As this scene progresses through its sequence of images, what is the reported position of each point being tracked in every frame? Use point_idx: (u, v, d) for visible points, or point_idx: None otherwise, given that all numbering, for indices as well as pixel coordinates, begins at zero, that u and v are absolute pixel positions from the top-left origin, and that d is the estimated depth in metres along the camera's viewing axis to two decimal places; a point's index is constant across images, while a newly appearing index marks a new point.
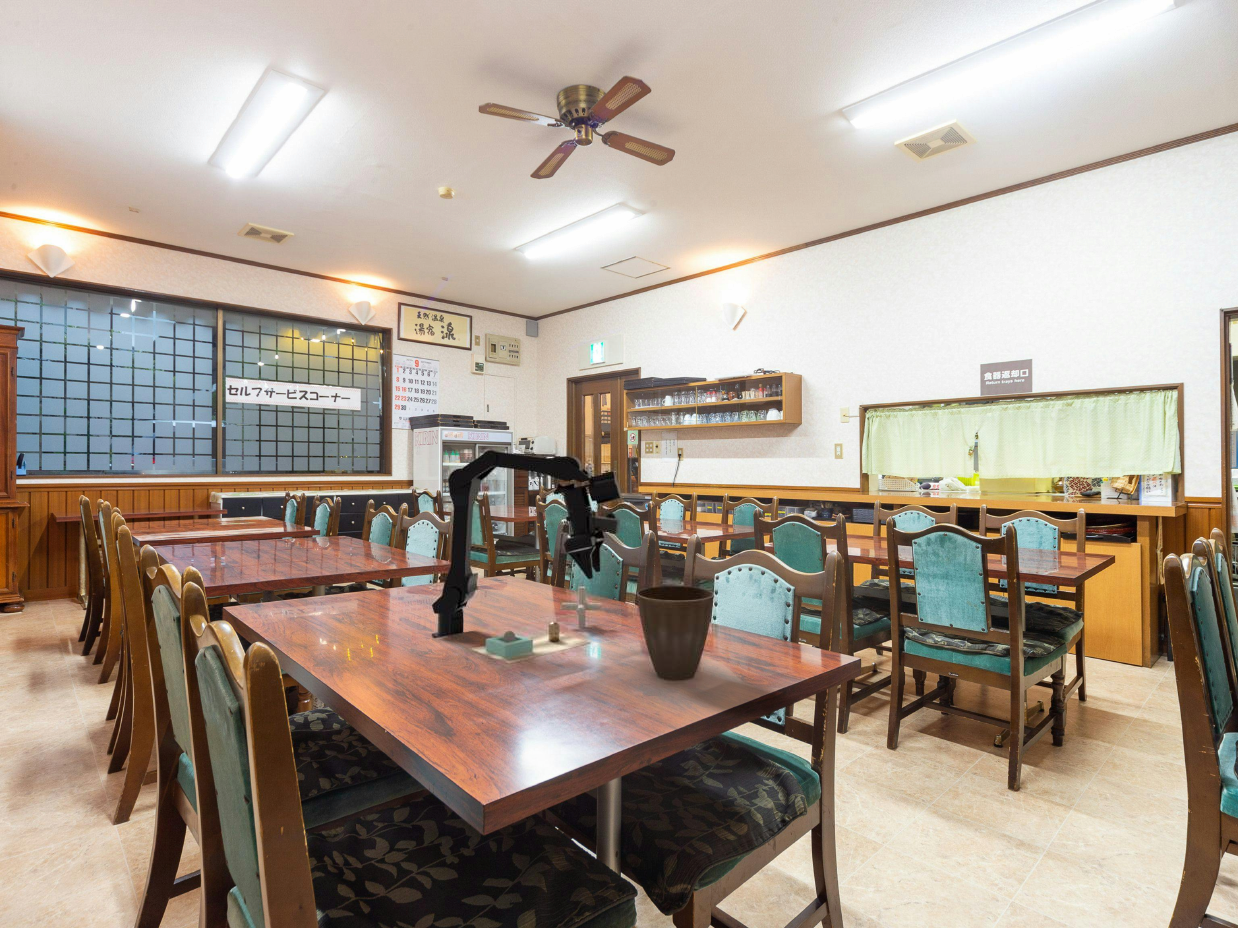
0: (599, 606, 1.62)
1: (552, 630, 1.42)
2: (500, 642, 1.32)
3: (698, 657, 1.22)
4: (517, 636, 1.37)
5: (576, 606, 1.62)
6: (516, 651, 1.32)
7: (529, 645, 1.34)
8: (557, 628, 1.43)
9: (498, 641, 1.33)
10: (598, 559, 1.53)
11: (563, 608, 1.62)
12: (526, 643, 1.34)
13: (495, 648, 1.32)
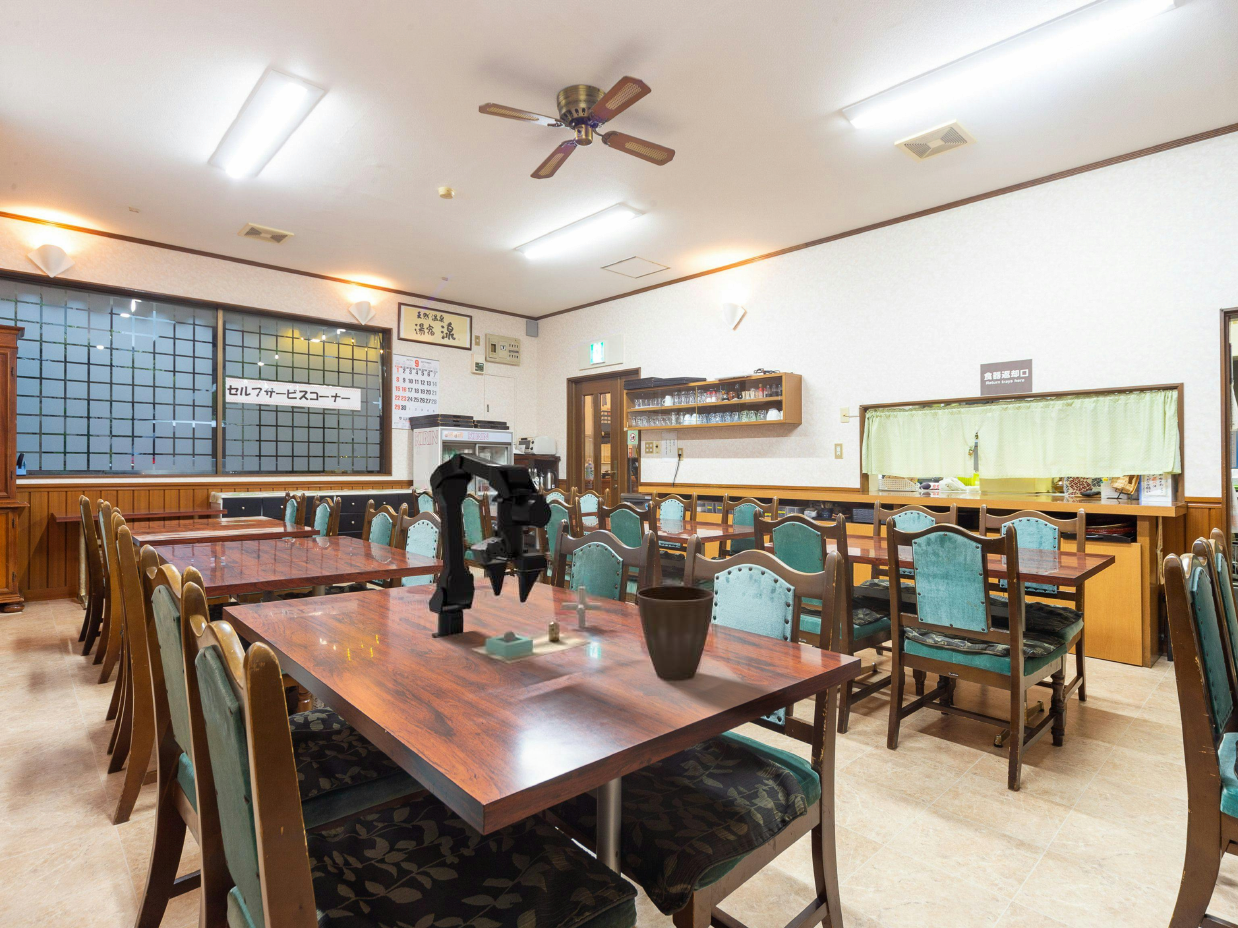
0: (599, 606, 1.62)
1: (552, 630, 1.42)
2: (500, 642, 1.32)
3: (698, 657, 1.22)
4: (517, 636, 1.37)
5: (576, 606, 1.62)
6: (516, 651, 1.32)
7: (529, 645, 1.34)
8: (557, 628, 1.43)
9: (498, 641, 1.33)
10: None
11: (563, 608, 1.62)
12: (526, 643, 1.34)
13: (495, 648, 1.32)
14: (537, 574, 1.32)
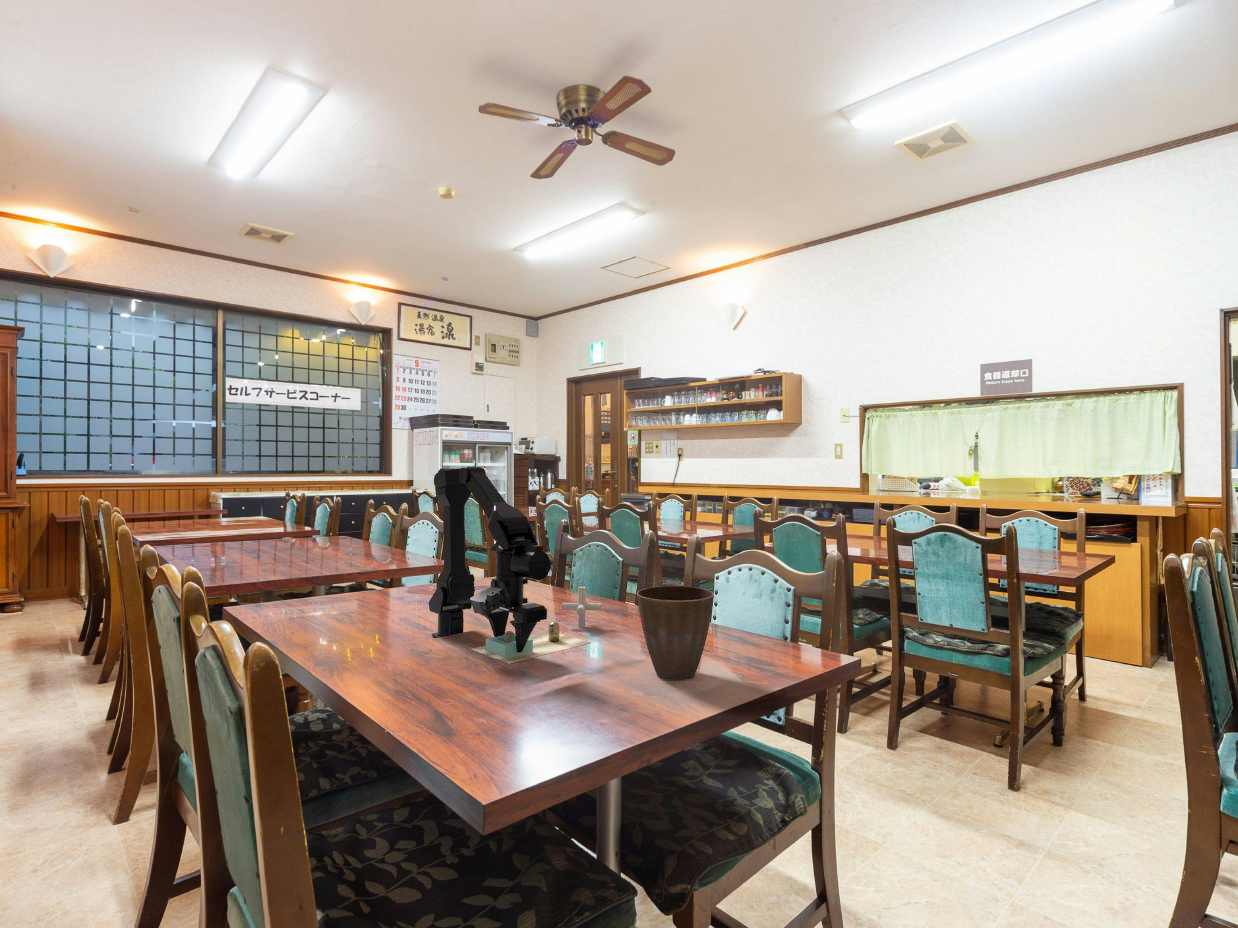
0: (599, 606, 1.62)
1: (552, 630, 1.42)
2: (500, 642, 1.32)
3: (698, 657, 1.22)
4: None
5: (576, 606, 1.62)
6: (516, 651, 1.32)
7: (529, 645, 1.34)
8: (557, 628, 1.43)
9: (498, 641, 1.33)
10: None
11: (563, 608, 1.62)
12: (526, 643, 1.34)
13: (495, 648, 1.32)
14: (534, 624, 1.33)
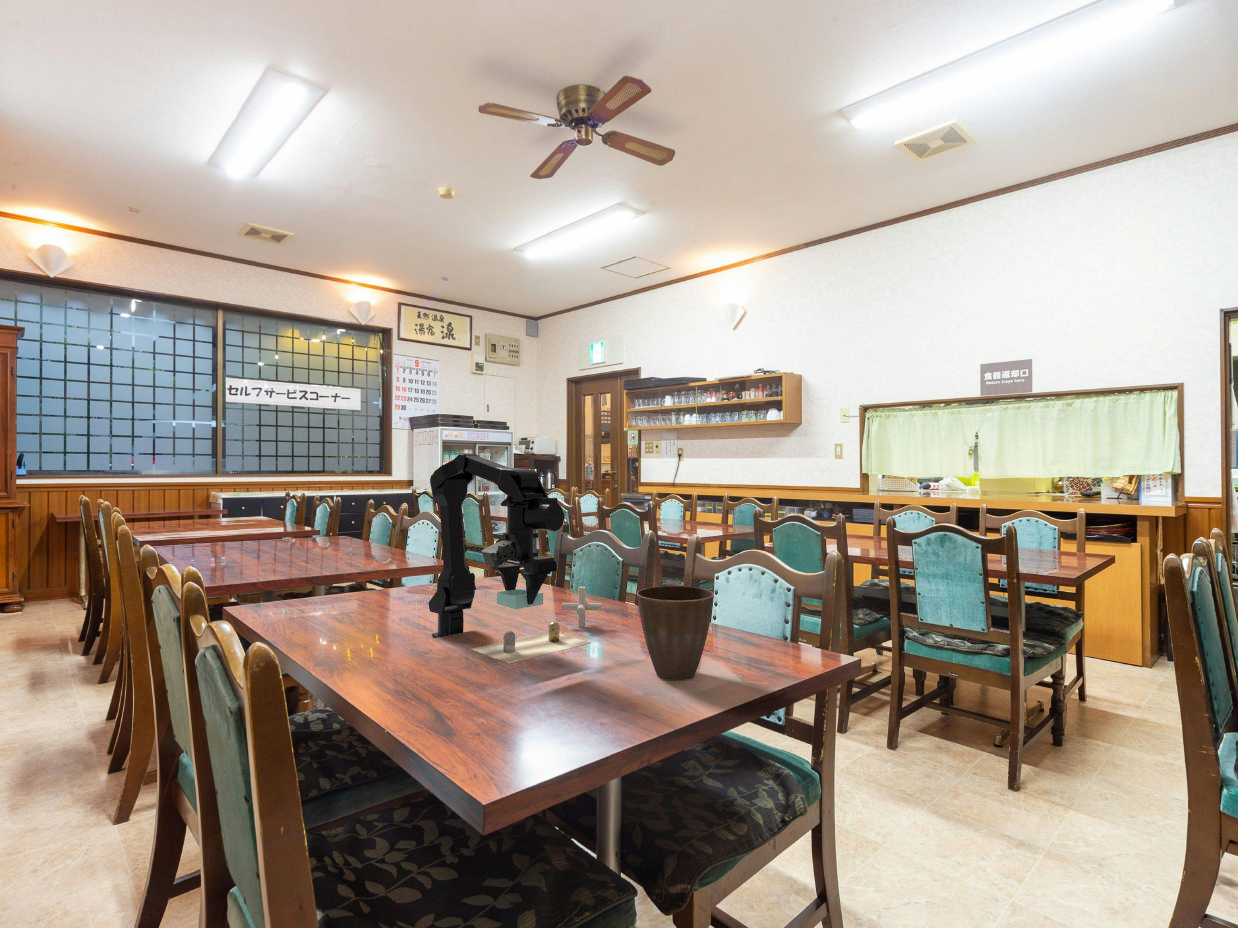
0: (599, 606, 1.62)
1: (552, 630, 1.42)
2: (511, 594, 1.34)
3: (698, 657, 1.22)
4: None
5: (576, 606, 1.62)
6: (527, 603, 1.34)
7: (539, 598, 1.36)
8: (557, 628, 1.43)
9: (509, 594, 1.35)
10: None
11: (563, 608, 1.62)
12: (536, 596, 1.36)
13: (506, 600, 1.34)
14: (544, 576, 1.34)
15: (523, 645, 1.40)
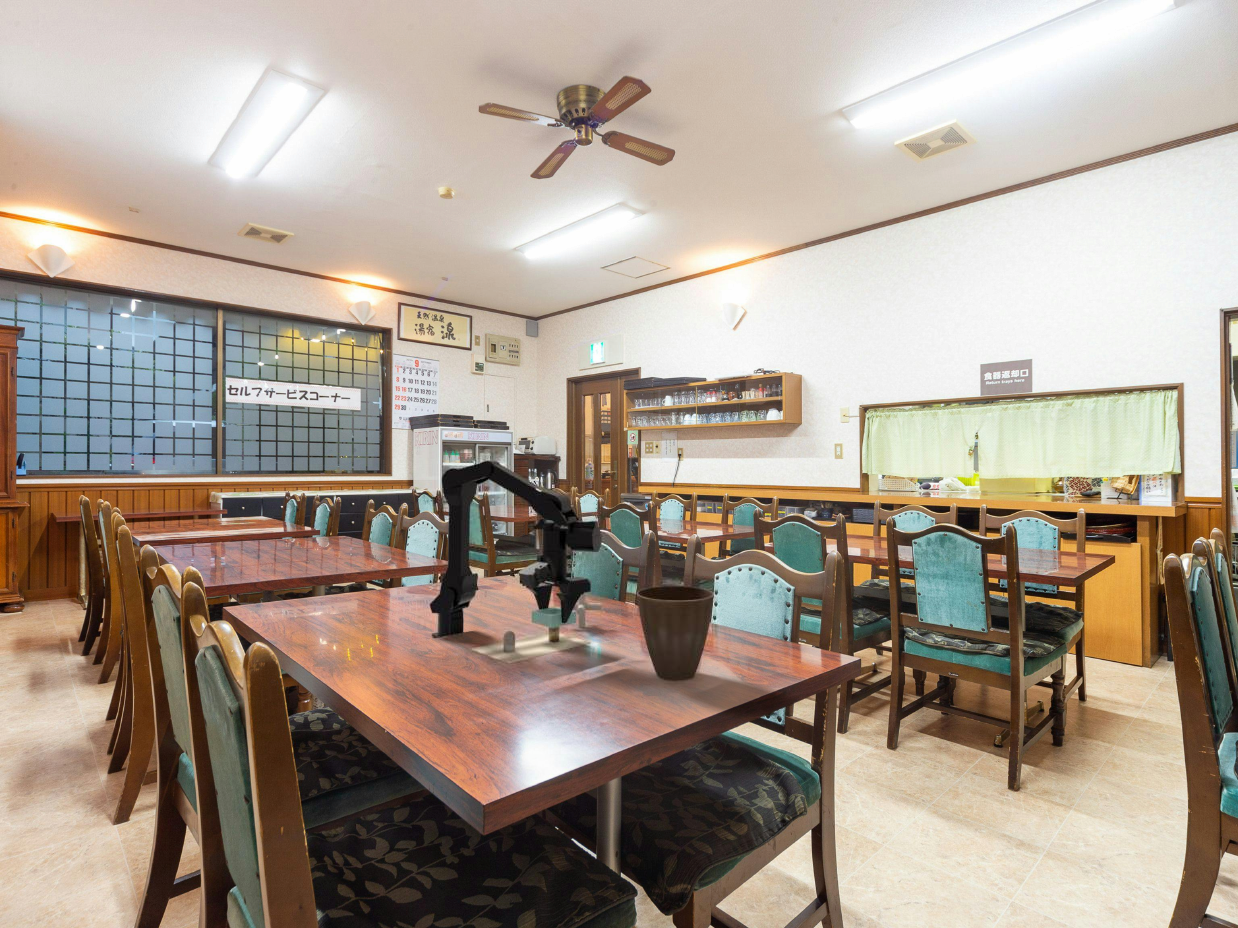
0: (599, 606, 1.62)
1: (552, 630, 1.42)
2: (546, 613, 1.41)
3: (698, 657, 1.22)
4: (560, 609, 1.46)
5: (576, 606, 1.62)
6: (561, 622, 1.41)
7: (573, 617, 1.43)
8: (557, 628, 1.43)
9: (544, 613, 1.42)
10: None
11: None
12: (570, 615, 1.42)
13: (542, 619, 1.41)
14: (578, 596, 1.41)
15: (523, 645, 1.40)
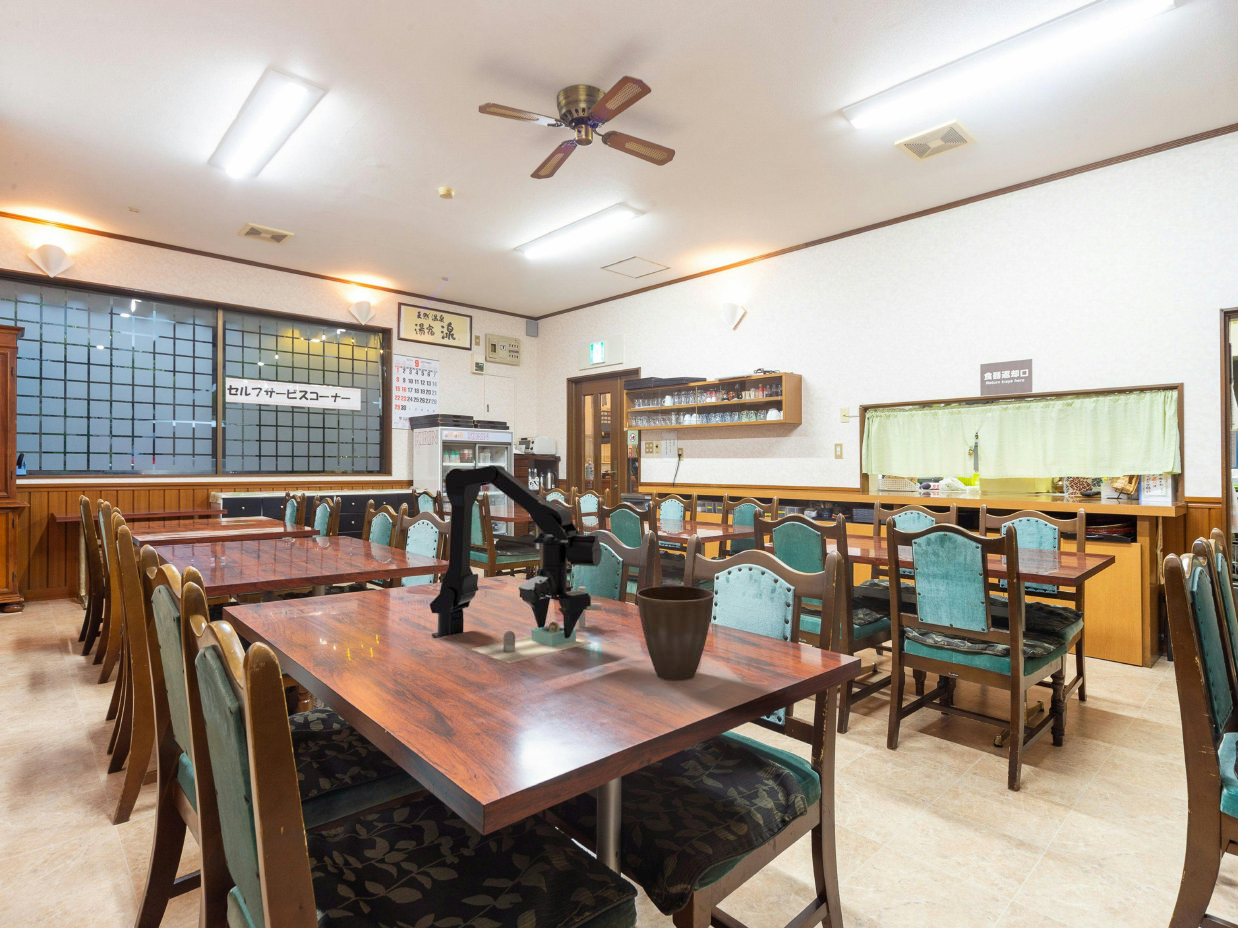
0: (599, 606, 1.62)
1: (552, 630, 1.42)
2: (546, 632, 1.41)
3: (698, 657, 1.22)
4: (560, 627, 1.46)
5: None
6: (561, 640, 1.41)
7: (573, 635, 1.43)
8: (557, 628, 1.43)
9: (544, 631, 1.42)
10: None
11: None
12: None
13: (542, 638, 1.41)
14: (580, 611, 1.40)
15: (523, 645, 1.40)
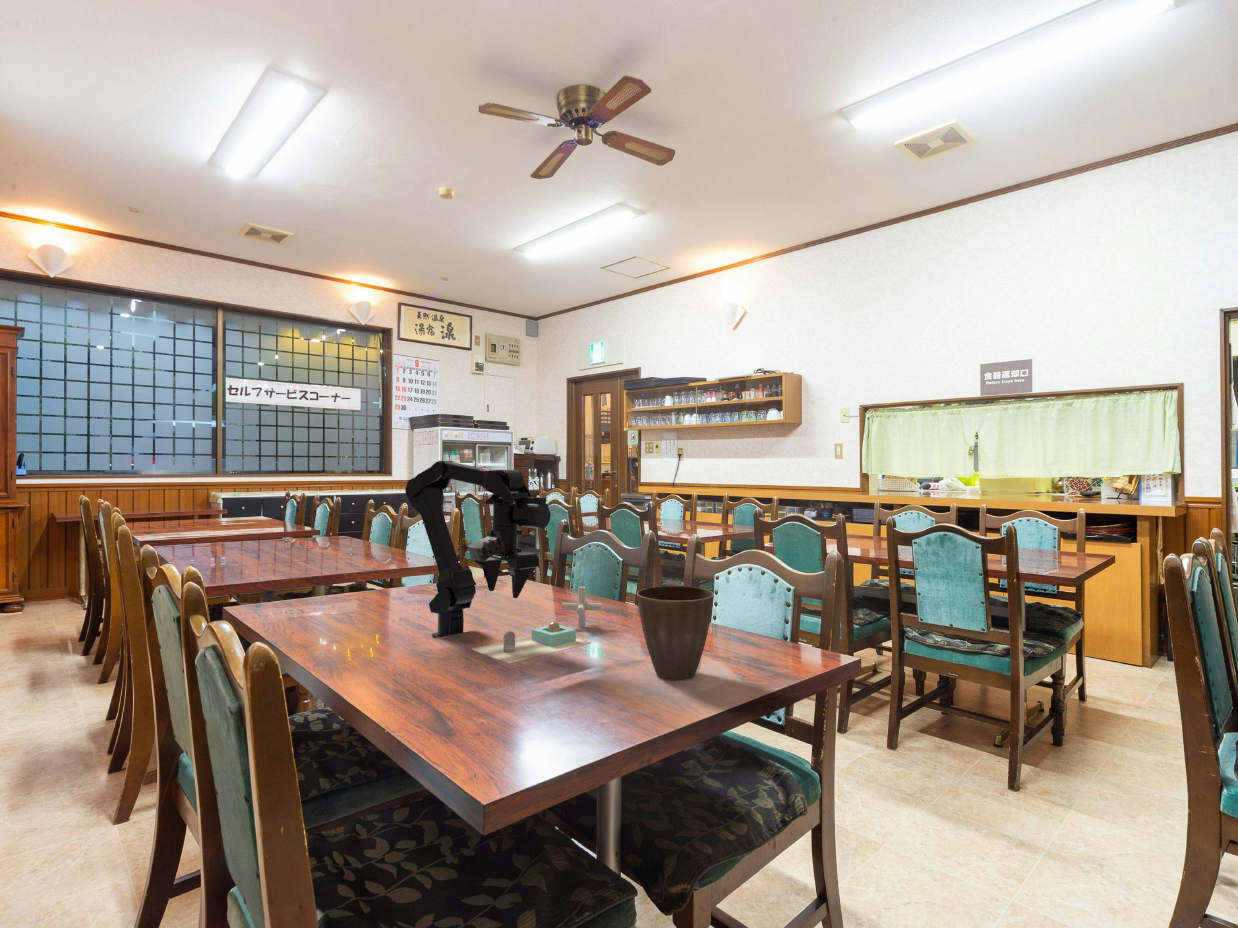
0: (599, 606, 1.62)
1: (552, 630, 1.42)
2: (546, 632, 1.41)
3: (697, 657, 1.22)
4: (560, 627, 1.46)
5: (576, 606, 1.62)
6: (561, 640, 1.41)
7: (573, 635, 1.43)
8: (557, 628, 1.43)
9: (544, 631, 1.42)
10: None
11: (563, 608, 1.62)
12: (570, 633, 1.42)
13: (542, 638, 1.41)
14: (529, 572, 1.42)
15: (523, 645, 1.40)
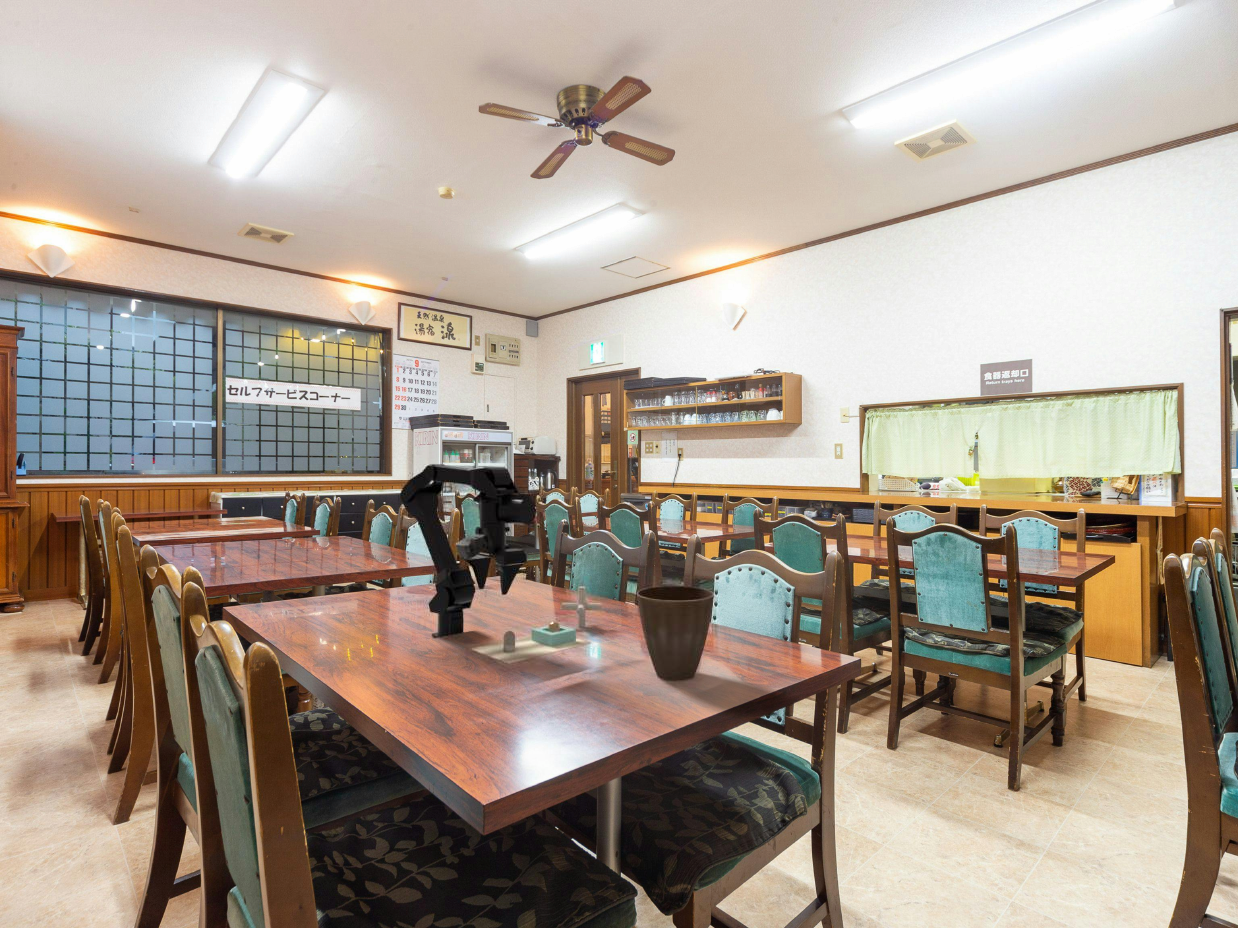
0: (599, 606, 1.62)
1: (552, 630, 1.42)
2: (546, 632, 1.41)
3: (697, 657, 1.22)
4: (560, 627, 1.46)
5: (576, 606, 1.62)
6: (561, 640, 1.41)
7: (573, 635, 1.43)
8: (557, 628, 1.43)
9: (544, 631, 1.42)
10: None
11: (563, 608, 1.62)
12: (570, 633, 1.42)
13: (542, 638, 1.41)
14: (517, 568, 1.42)
15: (523, 645, 1.40)
